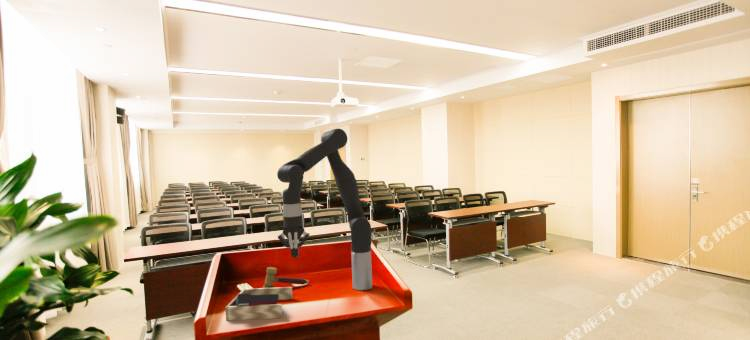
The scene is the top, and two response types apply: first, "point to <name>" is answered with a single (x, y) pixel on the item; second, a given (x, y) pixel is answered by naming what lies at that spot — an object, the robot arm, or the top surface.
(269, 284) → the gavel
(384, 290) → the top surface
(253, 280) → the top surface
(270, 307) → the beige piece
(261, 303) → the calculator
